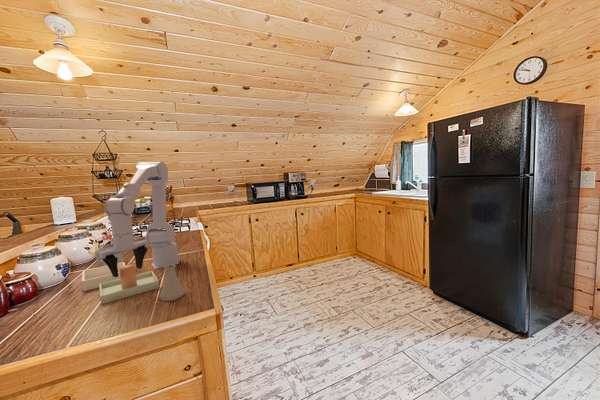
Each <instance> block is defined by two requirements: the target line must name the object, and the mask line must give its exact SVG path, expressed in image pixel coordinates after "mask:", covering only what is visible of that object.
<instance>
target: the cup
mask: <svg viewBox="0 0 600 400" xmlns="http://www.w3.org/2000/svg"><path fill="white" fill-rule="evenodd" d="M113 247H114V243H108V244H104V245H102V246H100V248H98V249H97V250H96V251H95V253H94V259H95V261H96V262H97V263H98V264H100V265H101V264H102V266H107V264H106V263H105V262H104V261H103V260H102V259H101V258H99V254H98V252H101V251H104V250H107V249H110V248H113ZM114 256H115V257H117V258H118V260H117V263H121V262H124V257H123V252H122V253H119V254H115V255H114Z"/></svg>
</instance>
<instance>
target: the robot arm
mask: <svg viewBox="0 0 600 400" xmlns="http://www.w3.org/2000/svg"><path fill="white" fill-rule="evenodd" d="M168 181H169V169H168V167H167V164H166V163H165V162H164V161H162V160H161V161H145V162H144V161H140V162H138V163H137V165H136V166H135V174H134V175H133V176H132V179H131V180H130V182H126V183H123V185H122V187H121V188H120V190H119V191H118V192H116V194H115V195H114V196H113V197H111V198H109V199H108V200H106V201H105V204H104V207H103V210H104V213H105V214H106V215H107V219H108V221H109V222H110V226H111V235H112V242H113V243H114V247H113V248H110V249H107V250H104V251H101V252H98V254H99V258H100V259H101V260H103V261H104V262H105V263H106V264H107V266H108V267H109V269H110V271H111V273H112V275H113V277H118V269H117V260H118V258H117V257H115V256H114V255H115V254H119V253H122V254H123V253H125V252H130V251H132V252H133V255H134V258H135V265H136V266H135V268H136V269H140V270H141V269H143V263H144V259H145V256H146V253H147V251H148V246H149V247H151V253H152V262H153V263H151V266H152V267H153V268H154V270H156V269H160V268H164V267H165V266H167V265H178V264H180V261H179V252H178V245H177V243H176V241H175V237H176V234H175V231H174V230H175V229H174V226H173V225H172V224H170V223H169V222H168V221H167V201H166V200H167V198H166V197H167V196H166V195H167V193H166V192H167V191H166V183H168ZM145 182H146V183H149V184H150V185H151V195H152V196H151V199H152V200H151V202H152V205H151V206H152V209H151V210H152V211H151V212H152V223H151V224H149V225H148V226H147V227H146V232H145V239H143V240H139V241H135V237H134V229H133V222H132V213H134V211H135V210H134V209H135V205H136V200H137V199H138V197H139V196H140V195H141V192H142V190H141V187H142V186H143V185H144V184H145ZM174 241H175V242H174Z"/></svg>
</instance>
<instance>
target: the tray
mask: <svg viewBox="0 0 600 400" xmlns="http://www.w3.org/2000/svg"><path fill="white" fill-rule="evenodd" d="M136 280H137V286H135V287H131V288H128V289H122V286H121V279H117V280H113V281H109V282H105V283H101V284H99V298H100V303H101V305H103V304H107V303H110V302H114V301H117V300H121V299H124V298H128V297H131V296H134V295H138V294H141V293H142V294H143V293H145V292H149V291H152V290H156V289H160V283H159V282H160V281H159V279H158V277H157V276H156V274H155V273H154V271H153V270H151V271H147V272H142V273H138V274H136Z"/></svg>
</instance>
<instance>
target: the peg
mask: <svg viewBox="0 0 600 400" xmlns="http://www.w3.org/2000/svg"><path fill="white" fill-rule="evenodd" d="M135 265H136V264H134V263H133V264H125V266H122V267H120V268H119V270H120V278H121V286H122V289H128V288H131V287H135V286H137V280H136V275H137V273H136V266H135Z"/></svg>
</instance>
